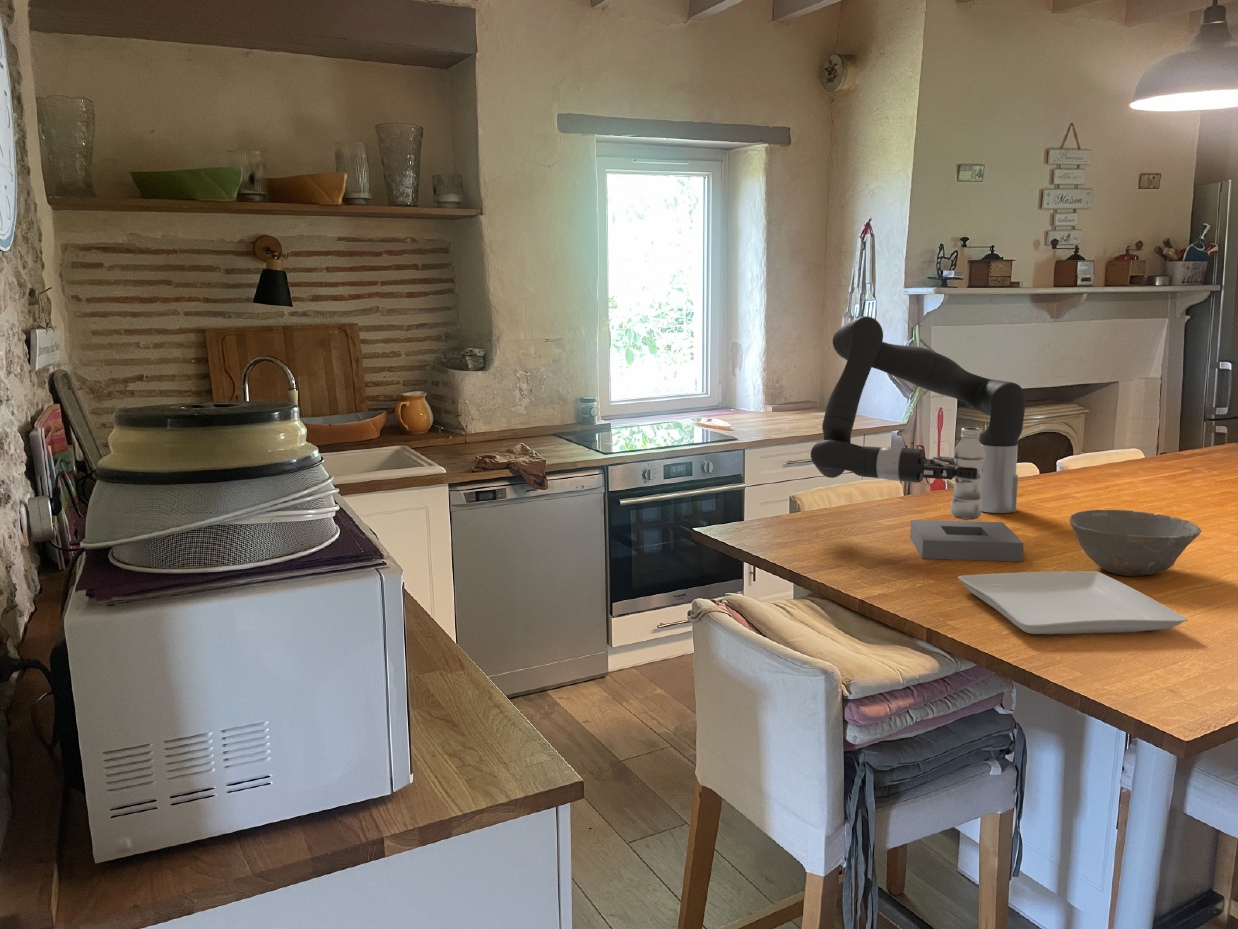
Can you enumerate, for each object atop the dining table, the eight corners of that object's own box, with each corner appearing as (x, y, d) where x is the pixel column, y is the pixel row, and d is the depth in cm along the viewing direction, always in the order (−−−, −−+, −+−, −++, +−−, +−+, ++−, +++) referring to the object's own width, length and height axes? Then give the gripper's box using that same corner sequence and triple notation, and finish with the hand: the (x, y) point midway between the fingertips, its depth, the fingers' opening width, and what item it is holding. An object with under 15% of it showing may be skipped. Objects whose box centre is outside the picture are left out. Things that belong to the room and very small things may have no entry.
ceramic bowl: (1040, 562, 188) (1043, 515, 186) (1123, 550, 195) (1126, 505, 194) (1134, 594, 167) (1139, 541, 165) (1222, 579, 175) (1227, 529, 173)
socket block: (1001, 539, 206) (1002, 522, 205) (1022, 561, 188) (1023, 543, 188) (910, 536, 209) (910, 519, 208) (922, 558, 192) (922, 540, 191)
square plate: (1095, 588, 172) (1097, 568, 171) (1189, 641, 145) (1191, 618, 145) (954, 591, 171) (955, 571, 171) (1022, 645, 144) (1024, 622, 144)
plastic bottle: (976, 515, 201) (981, 426, 197) (985, 523, 194) (990, 430, 190) (946, 515, 201) (950, 426, 198) (954, 523, 195) (959, 431, 191)
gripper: (893, 453, 196) (975, 458, 188) (909, 443, 208) (986, 448, 200) (891, 486, 198) (973, 494, 189) (907, 475, 210) (984, 481, 201)
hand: (979, 470), depth 194 cm, fingers closed on plastic bottle, 6 cm apart
